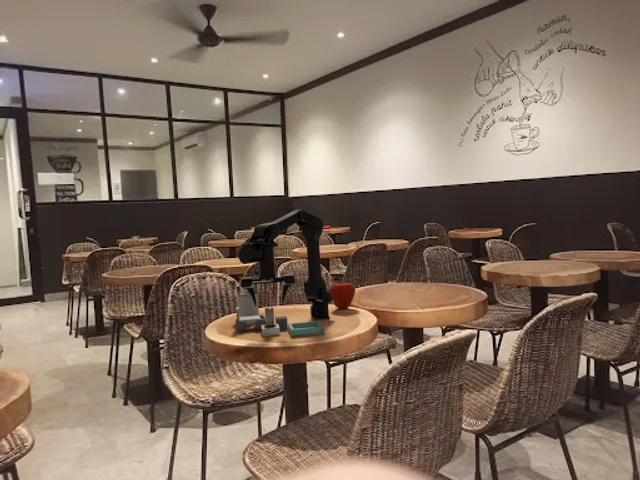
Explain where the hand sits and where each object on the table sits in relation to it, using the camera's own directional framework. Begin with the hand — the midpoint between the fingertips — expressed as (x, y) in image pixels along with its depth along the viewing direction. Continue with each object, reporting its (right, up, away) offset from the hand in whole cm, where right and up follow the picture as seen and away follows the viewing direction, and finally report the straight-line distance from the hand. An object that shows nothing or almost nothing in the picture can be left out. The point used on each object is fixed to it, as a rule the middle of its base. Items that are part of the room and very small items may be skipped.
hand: (269, 304), depth 170 cm
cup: (-11, -10, +24) cm, 28 cm away
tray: (+13, -10, 0) cm, 16 cm away
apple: (+28, -7, +37) cm, 46 cm away
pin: (0, -10, 0) cm, 10 cm away
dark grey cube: (+4, -10, +7) cm, 13 cm away
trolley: (-7, -10, +9) cm, 15 cm away
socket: (0, -10, 0) cm, 10 cm away
